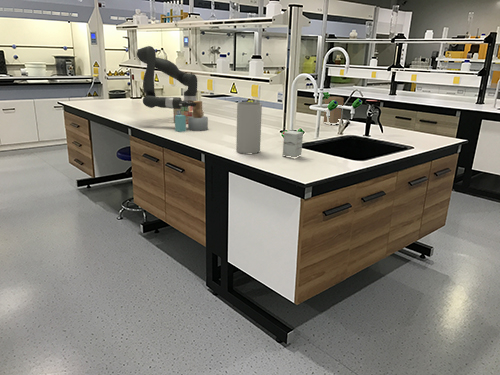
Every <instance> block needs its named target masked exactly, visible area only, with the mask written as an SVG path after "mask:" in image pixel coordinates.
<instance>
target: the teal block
mask: <svg viewBox="0 0 500 375" xmlns="http://www.w3.org/2000/svg"><path fill="white" fill-rule="evenodd" d="M174 131H175V132H179V133H182V132H187V124H186V116H185V115H175V123H174Z"/></svg>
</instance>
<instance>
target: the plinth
mask: <svg viewBox="0 0 500 375" xmlns="http://www.w3.org/2000/svg"><path fill="white" fill-rule="evenodd" d="M187 127H188V128H187V129H189V130H188V131H191V130H192V131H193V132H194V131H195V132H204V131H205V132H206V131H208V130H209V129H208V128H209V117H208V116H205V115H204V116H202V117H201V118H195V117H193V116H189V117H188V124H187Z"/></svg>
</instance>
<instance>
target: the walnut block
mask: <svg viewBox="0 0 500 375" xmlns="http://www.w3.org/2000/svg"><path fill="white" fill-rule="evenodd" d="M193 103H196V106H195V107H193V117H195V118H201V117H202V111H203V101H202V100H196V101H194V102H193Z"/></svg>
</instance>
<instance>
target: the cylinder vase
mask: <svg viewBox="0 0 500 375" xmlns="http://www.w3.org/2000/svg"><path fill="white" fill-rule="evenodd" d="M262 106H263V103H261V102H254V101H241V102H237V103H236V140H235V141H236V142H235V143H236V144H235V145H236V153H239V154H242V153H256V154H258V153H257V152H259V151H261V139H262V138H261V135H262V111H263V109H262V108H263V107H262ZM259 153H260V152H259Z"/></svg>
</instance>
